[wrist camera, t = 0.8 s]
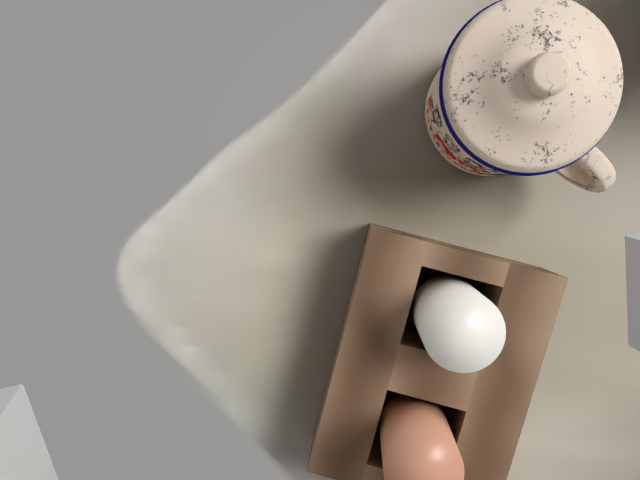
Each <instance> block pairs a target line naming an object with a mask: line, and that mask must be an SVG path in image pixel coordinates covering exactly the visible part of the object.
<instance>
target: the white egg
mask: <svg viewBox="0 0 640 480" xmlns="http://www.w3.org/2000/svg"><path fill="white" fill-rule="evenodd" d="M411 314H412V318H413V321H414V324H415V326H416V328H417V330H418V333H419V335H420V337H421V340H422V342H423V344H424V347H425V349H426V351H427V353H428V354H429V356H430V357H431V358H432V359H433V361H434V362H436V363H437V364H438V365H439V366H441V367H442V368H444V369H447V370H449V371H452V372H457V373H471V372H476V371H479V370H481V369H483V368H485V367H487V366H488V365H490V364H491V363H492V362H493V361H494V360H495V359H496V358H497V357H498V356H499V354H500V353H501V351H502V349H503V346H504V343H505V339H506V326H505V322H504V319H503V316H502V314H501V312H500V311H499V309H498V308H497V307H496V306H495V305H494V304H493V303H492V302H491V301H490V300H489V299H487V298H486V297H485V296H484V295H482V294H481V293H480V292H479V291H477V290H476V289H475V288H474V287H472V286H471V285H470V284H469V283H467V282H466V281H465V280H463V279H461V278H458V277H455V276H451V275H441V276H436V277H433V278H431V279H429V280H427V281H426V282H424V283H423V284H422V285H421V286H420V287H419V288H418V290H417V291H416V293H415V295H414V297H413V300H412V304H411Z"/></svg>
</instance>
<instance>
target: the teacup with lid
mask: <svg viewBox="0 0 640 480" xmlns="http://www.w3.org/2000/svg"><path fill="white" fill-rule="evenodd" d="M622 90H623V68H622V62H621V57H620V53H619V51H618V48H617V45H616V43H615V41H614V39H613V37H612V35H611V34H610V32H609V30H608V29H607V28H606V26H605V25H604V24H603V23H602V22H601V21H600V20H599V18H598V17H597V16H595V15H594V14H593V13H592V12H591V11H589V10H588V9H586V8H585V7H584V6H582V5H580V4H578V3H576V2H574V1H572V0H500V1H498V2H495V3H493V4H491V5H489V6H488V7H486V8H484V9H483V10H481V11H480V12H478V13H477V14H476V15H475V16H473V17H472V18H471V19H470V20H469V21H468V22H467V23H466V24H465V25H464V26H463V27H462V28H461V30H460V31H459V32H458V33H457V35H456V36H455V38H454V39H453V41H452V43H451V45H450V46H449V48H448V51H447V53H446V55H445V58H444V61H443V64H442V66H441V68H440V69H439V71H438V73H437V74H436V76H435V77H434V79H433V81H432V83H431V85H430V88H429V91H428V93H427V98H426V103H425V121H426V127H427V131H428V134H429V136H430V139H431V141H432V143H433V145H434V146H435V148H436V149H437V151H438V152H439V153H440V154H441V155H442V156H443V158H444V159H446V160H447V161H448V162H449V163H450V164H452V165H453V166H455V167H457V168H458V169H460V170H462V171H465V172H467V173H470V174H474V175H479V176H500V175H507V174H511V175H519V176H533V175H541V174H547V173H550V172H554V171H555V172H556V173H558V174H559V175H560V176H561V177H563V178H564V179H566V180H567V181H569V182H570V183H572V184H574V185H576V186H578V187H580V188H582V189H585V190H588V191H591V192H603V191H605V190H607V189H608V188H609V187H610V186H611V185H612V184H613V183H614V182H615V180H616V172H615V169H614V167H613V165H612V164H611V162H610V161H609V160H608V159H607V157H606V156H605V155H604V154H603V153H602V152H601V151H600V150H599V149H598V148H597V147H596V145H597V144H598V142H599V141H600V140H601V139H602V138H603V136H604V135H605V134H606V132H607V130H608V129H609V127H610V125H611V124H612V122H613V120H614V118H615V116H616V113H617V110H618V108H619V104H620V101H621V96H622Z"/></svg>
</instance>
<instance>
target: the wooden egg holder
mask: <svg viewBox="0 0 640 480" xmlns="http://www.w3.org/2000/svg"><path fill="white" fill-rule="evenodd" d="M422 266H424V267H428V268H431V269H435V270H439V271H443V272H447V273H451V274H454V275H458V276H462V277H466V278H470V279H473V280H477V281H481V282H484V283H483V286H482V290H481V294H482V295H484V296H485V297H486V298H487V299H489V300H490V301H491V302H492V303H493V304H494V305H495V306H496V307H497V308H498V309H499V311H500V312H501V314H502V316H503V319H504V322H505V326H506V339H505V343H504V346H503V349H502V351H501V353H500V354H499V356H498V357H497V358H496V359H495V360H494V361H493V362H492V363H491V364H490V365H488V366H487V367H485V368H483V369H481V370H479V371H476V372H471V373H457V372H452V371H449V370H447V369H444V368H442V367H441V366H439V365H438V364H437V363H436V362H434V361H433V359H432V358H431V357H430V356H429V354H428V353H427V351H426V349H425V347H424V344H423V342H422V340H421V337H420V335H419V333H418V332H415V331H411V330H407V329H404V328H405V324H406V321H407V317H408V314H409V310H410V306H411V303H412V299H413V296H414V292H415V288H416V285H417V281H418V278H419V274H420V270H421V267H422ZM567 280H568V278H566V277H563V276H561V275H558V274H556V273H553V272H551V271H548V270H546V269H543V268H540V267H536V266H532V265H529V264H525V263H521V262H517V261H513V260H509V259H505V258H502V257H498V256H494V255H490V254H486V253H482V252H479V251H475V250H471V249H467V248H463V247H459V246H455V245H452V244H448V243H444V242H440V241H436V240H432V239H428V238H425V237H421V236H417V235H413V234H409V233H405V232H402V231H398V230H394V229H390V228H386V227H382V226H378V225H375V224H371V223H370V226H369V230H368V234H367V238H366V241H365V245H364V249H363V253H362V256H361V260H360V264H359V268H358V271H357V275H356V279H355V283H354V286H353V290H352V294H351V298H350V301H349V305H348V309H347V313H346V316H345V320H344V324H343V328H342V331H341V335H340V339H339V343H338V346H337V350H336V354H335V358H334V362H333V365H332V369H331V373H330V377H329V380H328V384H327V388H326V392H325V395H324V399H323V403H322V407H321V410H320V414H319V418H318V422H317V425H316V429H315V433H314V437H313V441H312V446H311V452H310V457H309V462H308V468H307V471H308V472H312V473H315V474H319V475H322V476H326V477H329V478H333V479H336V480H384V474H383V463H382V452H381V441H380V437H379V436H375V432H376V429H377V425H378V421H379V418H380V414H381V411H382V407H383V403H384V400H385V396H386V393H387V390H389V391H393V392H397V393H400V394H404V395H408V396H411V397H415V398H419V399H422V400H426V401H429V402H433V403H437V404H440V405H444V406H447V410H446V413H445V416H446V419H447V421H448V424H449V427H450V429H451V432H452V434H453V437H454V439H455V442H456V444H457V447H458V449H459V452H460V455H461V457H462V460H463V463H464V471H465V473H464V480H506V479H507V476H508V472H509V469H510V466H511V463H512V459H513V456H514V453H515V450H516V446H517V443H518V440H519V437H520V433H521V430H522V427H523V424H524V420H525V417H526V414H527V410H528V407H529V404H530V401H531V397H532V394H533V391H534V388H535V384H536V381H537V378H538V375H539V371H540V368H541V365H542V362H543V358H544V355H545V352H546V349H547V345H548V342H549V339H550V336H551V332H552V329H553V326H554V323H555V319H556V316H557V313H558V310H559V306H560V303H561V300H562V297H563V293H564V290H565V287H566V283H567Z"/></svg>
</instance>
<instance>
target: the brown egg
mask: <svg viewBox="0 0 640 480" xmlns="http://www.w3.org/2000/svg"><path fill="white" fill-rule="evenodd" d="M379 430H380V441H381V452H382V463H383V474H384V480H464V473H465V471H464V463H463V460H462V457H461V455H460V452H459V449H458V447H457V444H456V442H455V439H454V437H453V434H452V432H451V429H450V427H449V424H448V421H447V419H446V416H445V414H444V412H443V410H442V408H441V407H440V405H439V404H437V403H433V402H429V401H426V400H422V399H419V398H415V397H411V396H408V395H404V394H400V395H397V396H395V397H394V398H392V399H391V400H390V401H389V402H388V403H387V404H386V405H385V407H384V408H383V410H382V412H381V415H380V419H379Z"/></svg>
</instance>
